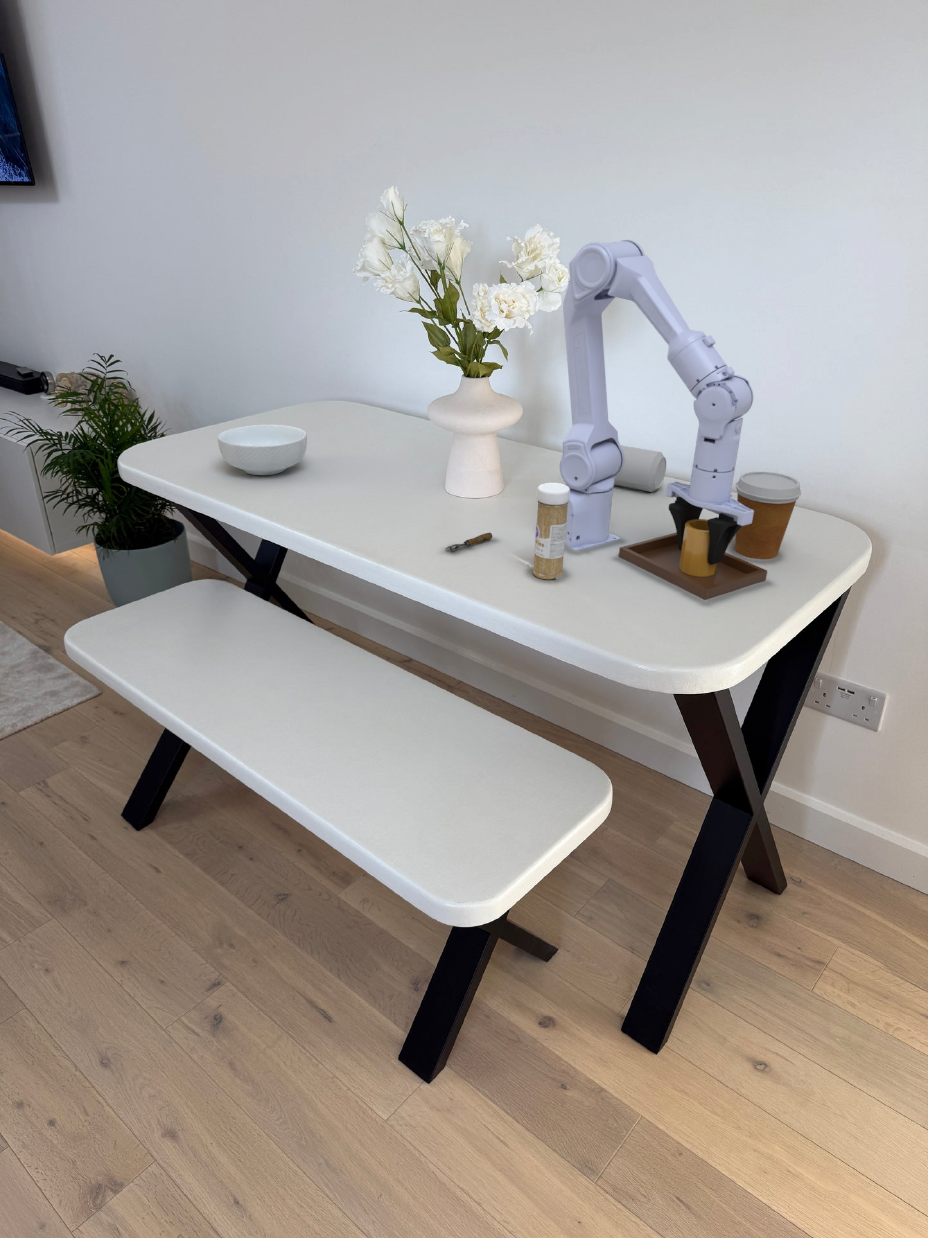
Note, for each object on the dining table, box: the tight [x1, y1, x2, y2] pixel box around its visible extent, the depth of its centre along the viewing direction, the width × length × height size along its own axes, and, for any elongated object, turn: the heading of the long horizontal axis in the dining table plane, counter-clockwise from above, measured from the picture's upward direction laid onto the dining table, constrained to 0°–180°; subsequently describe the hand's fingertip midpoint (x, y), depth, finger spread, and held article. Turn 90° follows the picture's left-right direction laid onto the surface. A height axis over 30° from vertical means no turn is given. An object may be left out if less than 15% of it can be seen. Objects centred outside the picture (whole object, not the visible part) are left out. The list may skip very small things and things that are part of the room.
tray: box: [618, 531, 768, 601], centre depth 127 cm, size 13×18×2 cm
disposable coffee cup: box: [734, 471, 802, 561], centre depth 130 cm, size 10×10×12 cm
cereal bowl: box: [217, 424, 308, 476], centre depth 165 cm, size 17×17×7 cm
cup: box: [679, 518, 717, 577], centre depth 125 cm, size 5×5×7 cm
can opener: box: [445, 532, 493, 552], centre depth 134 cm, size 9×2×1 cm, turn 125°
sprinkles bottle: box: [532, 482, 570, 580], centre depth 122 cm, size 5×5×14 cm
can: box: [614, 444, 667, 493], centre depth 160 cm, size 8×8×12 cm
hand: (699, 555), depth 125 cm, fingers closed on cup, 5 cm apart
